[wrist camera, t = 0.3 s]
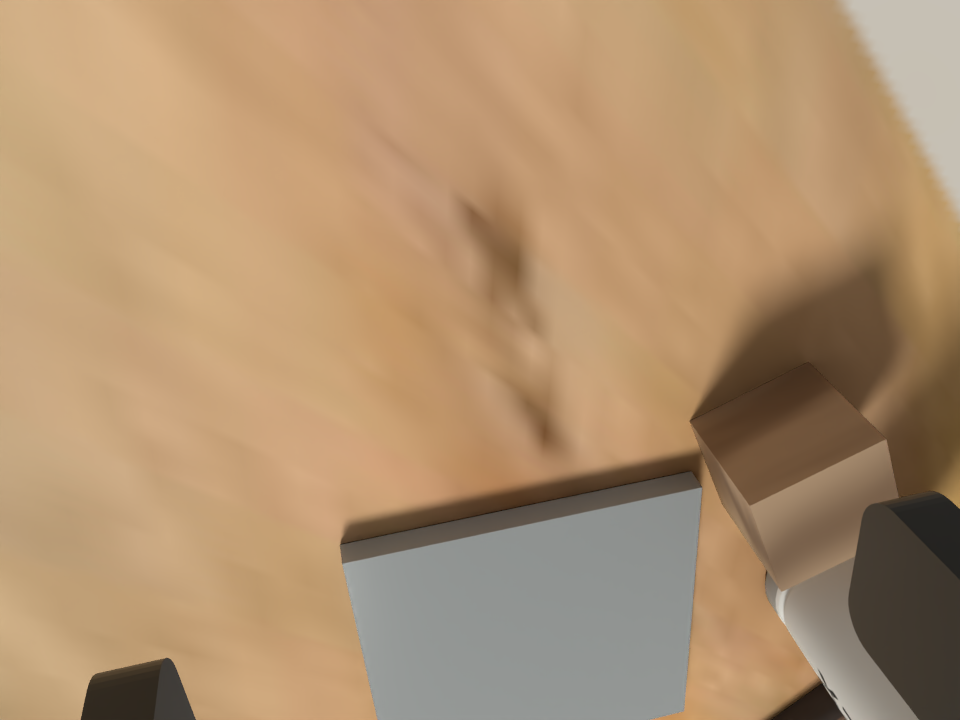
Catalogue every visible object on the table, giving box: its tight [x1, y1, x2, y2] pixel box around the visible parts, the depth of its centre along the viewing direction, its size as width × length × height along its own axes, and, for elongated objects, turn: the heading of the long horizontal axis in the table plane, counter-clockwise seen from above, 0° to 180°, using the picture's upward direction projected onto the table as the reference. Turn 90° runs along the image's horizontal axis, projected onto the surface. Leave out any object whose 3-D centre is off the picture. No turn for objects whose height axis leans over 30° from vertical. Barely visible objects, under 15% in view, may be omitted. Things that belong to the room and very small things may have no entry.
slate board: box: [340, 471, 702, 720], centre depth 37 cm, size 14×14×1 cm
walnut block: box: [690, 362, 899, 592], centre depth 33 cm, size 5×5×5 cm
